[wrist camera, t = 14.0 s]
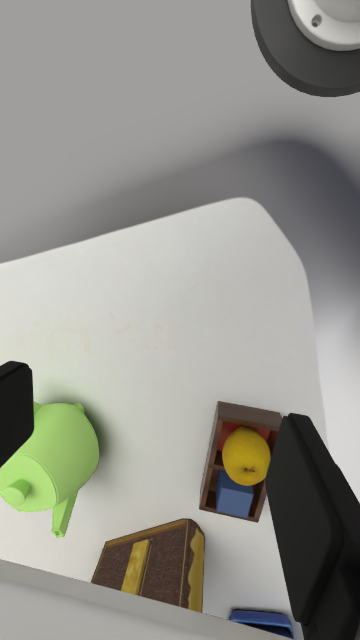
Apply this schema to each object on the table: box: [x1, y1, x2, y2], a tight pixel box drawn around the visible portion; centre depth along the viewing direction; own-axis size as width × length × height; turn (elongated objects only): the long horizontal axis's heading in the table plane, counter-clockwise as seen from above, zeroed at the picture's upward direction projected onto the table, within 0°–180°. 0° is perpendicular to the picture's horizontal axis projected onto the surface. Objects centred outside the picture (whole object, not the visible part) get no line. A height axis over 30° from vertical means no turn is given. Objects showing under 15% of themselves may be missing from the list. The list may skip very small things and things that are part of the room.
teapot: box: [0, 402, 99, 538], centre depth 37 cm, size 20×13×13 cm
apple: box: [222, 427, 271, 486], centre depth 35 cm, size 6×6×8 cm
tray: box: [199, 401, 282, 523], centre depth 39 cm, size 17×9×3 cm, turn 173°
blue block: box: [216, 470, 253, 518], centre depth 39 cm, size 4×4×4 cm
